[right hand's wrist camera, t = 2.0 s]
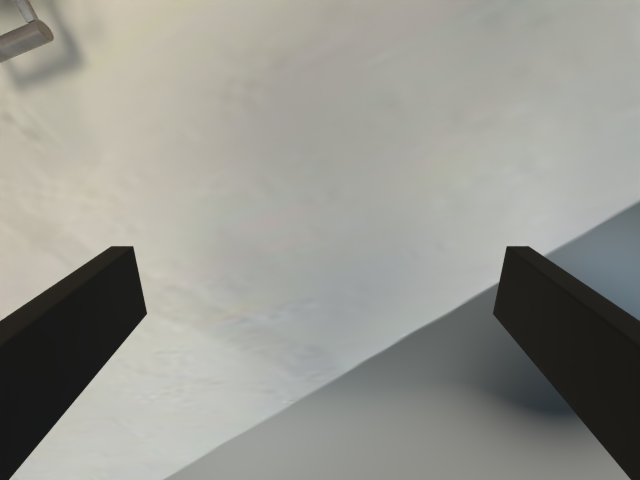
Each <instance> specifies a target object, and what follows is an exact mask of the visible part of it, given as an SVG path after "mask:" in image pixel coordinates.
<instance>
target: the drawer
mask: <svg viewBox="0 0 640 480" xmlns="http://www.w3.org/2000/svg"><path fill="white" fill-rule="evenodd" d="M15 2H16V3H17V5H18V7H19V9H20V11H21V13H22V14H23V16H24V18H25V20H26V22H27V23H29V24H26V25H24V26H22V27H19V28H17V29H15V30H12V31H10V32H8V33H6V34H3V35H1V36H0V63H1V62H3V61H6V60H8V59H10V58H13V57H15V56H18V55H20V54H22V53H25V52H27V51H29V50H32V49H34V48H37V47H39V46H41V45H44V44H46V43H49V42H51V41H53V39H54V37H53V34H52V32H51V30H50V29H49V27H48V26H47V25H46V24H45V23H44V22H42V21H40V20H39V19H38V17H37V15H36V13H35V12H34V10H33V8H32V6H31V4H30V2H29V0H15Z"/></svg>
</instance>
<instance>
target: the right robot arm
mask: <svg viewBox="0 0 640 480" xmlns="http://www.w3.org/2000/svg"><path fill="white" fill-rule="evenodd" d="M146 314H147V311H146V306H145V301H144V296H143V292H142V287H141V282H140V277H139V272H138V267H137V263H136V258H135V253H134V248H133V246H111V247H110V248H108V249H107V250H105V251H104V252H102V253H101V254H99V255H98V256H96V257H95V258H93V259H92V260H90V261H89V262H87V263H86V264H84V265H83V266H81V267H80V268H78V269H77V270H75V271H74V272H73V273H71V274H70V275H68V276H67V277H65V278H64V279H62V280H61V281H59V282H58V283H56V284H55V285H53V286H52V287H50V288H49V289H47V290H46V291H44V292H43V293H41V294H40V295H38V296H37V297H35V298H34V299H32V300H31V301H29V302H28V303H26V304H25V305H23V306H22V307H21V308H19V309H18V310H16V311H15V312H13V313H12V314H10V315H9V316H7V317H6V318H4V319H3V320H1V321H0V480H9V479H10V478H11V477H12V475H13V474H14V473H15V472H16V471H17V469H18V468H19V467H20V466H21V465H22V463H23V462H24V461H25V460H26V459H27V457H28V456H29V455H30V454H31V453H32V451H33V450H34V449H35V448H36V447H37V445H38V444H39V443H40V442H41V441H42V439H43V438H44V437H45V436H46V435H47V433H48V432H49V431H50V430H51V429H52V427H53V426H54V425H55V424H56V423H57V421H58V420H59V419H60V418H61V417H62V415H63V414H64V413H65V412H66V411H67V409H68V408H69V407H70V406H71V405H72V403H73V402H74V401H75V400H76V399H77V397H78V396H79V395H80V394H81V392H82V391H83V390H84V389H85V388H86V386H87V385H88V384H89V383H90V382H91V380H92V379H93V378H94V377H95V376H96V374H97V373H98V372H99V371H100V370H101V368H102V367H103V366H104V365H105V364H106V362H107V361H108V360H109V359H110V358H111V356H112V355H113V354H114V353H115V352H116V350H117V349H118V348H119V347H120V346H121V344H122V343H123V342H124V341H125V340H126V338H127V337H128V336H129V335H130V334H131V332H132V331H133V330H134V329H135V328H136V326H137V325H138V324H139V323H140V322H141V320H142V319H143V318H144V317H145V316H146ZM493 314H494V316H495V317H496V318H497V319H498V320H499V322H500V323H501V324H502V325H503V326H504V328H505V329H506V330H507V331H508V332H509V334H510V335H511V336H512V337H513V338H514V340H515V341H516V342H517V343H518V344H519V346H520V347H521V348H522V349H523V350H524V351H525V353H526V354H527V355H528V356H529V358H530V359H531V360H532V361H533V362H534V364H535V365H536V366H537V367H538V368H539V370H540V371H541V372H542V373H543V374H544V376H545V377H546V378H547V379H548V380H549V382H550V383H551V384H552V385H553V386H554V388H555V389H556V390H557V391H558V392H559V394H560V395H561V396H562V397H563V399H564V400H565V401H566V402H567V403H568V404H569V406H570V407H571V408H572V409H573V411H574V412H575V413H576V414H577V415H578V417H579V418H580V419H581V420H582V421H583V423H584V424H585V425H586V426H587V427H588V428H589V430H590V431H591V432H592V433H593V435H594V436H595V437H596V438H597V439H598V441H599V442H600V443H601V444H602V445H603V446H604V448H605V449H606V450H607V451H608V453H609V454H610V455H611V456H612V457H613V459H614V460H615V461H616V462H617V463H618V465H619V466H620V467H621V468H622V469H623V471H624V472H625V473H626V474H627V475H628V477H629V478H630V479H631V480H640V321H639V320H637V319H636V318H634V317H633V316H631V315H630V314H628V313H627V312H625V311H624V310H622V309H621V308H619V307H618V306H616V305H615V304H614V303H612V302H611V301H609V300H608V299H606V298H605V297H603V296H602V295H600V294H599V293H597V292H596V291H594V290H593V289H591V288H590V287H588V286H587V285H585V284H584V283H582V282H581V281H579V280H578V279H576V278H575V277H573V276H572V275H570V274H569V273H567V272H566V271H564V270H563V269H562V268H560V267H559V266H557V265H556V264H554V263H553V262H551V261H550V260H548V259H547V258H545V257H544V256H542V255H541V254H539V253H538V252H536V251H535V250H533V249H532V248H530V247H529V246H507V248H506V253H505V258H504V263H503V267H502V272H501V277H500V282H499V287H498V292H497V296H496V301H495V306H494V311H493Z"/></svg>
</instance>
